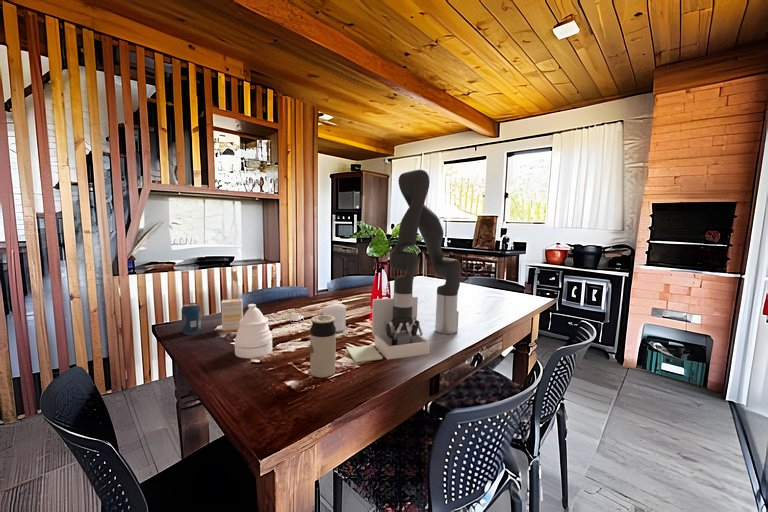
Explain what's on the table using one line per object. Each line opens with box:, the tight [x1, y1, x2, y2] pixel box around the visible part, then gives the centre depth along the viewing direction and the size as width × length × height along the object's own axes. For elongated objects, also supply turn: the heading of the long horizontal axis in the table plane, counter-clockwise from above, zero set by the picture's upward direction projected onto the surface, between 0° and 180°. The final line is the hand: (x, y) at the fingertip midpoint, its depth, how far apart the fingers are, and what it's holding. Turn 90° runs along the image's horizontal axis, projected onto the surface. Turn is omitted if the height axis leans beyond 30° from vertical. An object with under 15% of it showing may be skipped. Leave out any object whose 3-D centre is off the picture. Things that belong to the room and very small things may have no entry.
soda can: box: [181, 302, 202, 335], centre depth 140 cm, size 7×7×12 cm
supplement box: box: [220, 298, 244, 332], centre depth 144 cm, size 8×5×13 cm, turn 108°
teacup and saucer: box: [290, 312, 304, 322], centre depth 159 cm, size 9×8×4 cm
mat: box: [346, 345, 383, 363], centre depth 122 cm, size 10×12×1 cm
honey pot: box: [234, 303, 273, 359], centre depth 121 cm, size 13×13×18 cm
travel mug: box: [309, 314, 337, 378], centre depth 105 cm, size 8×8×18 cm
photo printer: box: [322, 303, 347, 333], centre depth 145 cm, size 10×4×12 cm, turn 123°
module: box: [396, 332, 411, 345], centre depth 127 cm, size 5×5×6 cm
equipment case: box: [371, 296, 431, 360], centre depth 126 cm, size 19×14×18 cm
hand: (401, 347), depth 127 cm, fingers closed on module, 5 cm apart
